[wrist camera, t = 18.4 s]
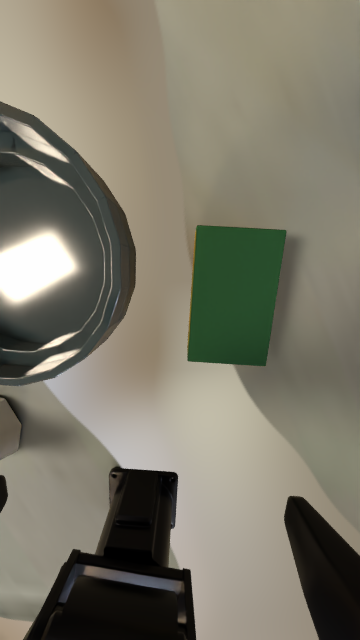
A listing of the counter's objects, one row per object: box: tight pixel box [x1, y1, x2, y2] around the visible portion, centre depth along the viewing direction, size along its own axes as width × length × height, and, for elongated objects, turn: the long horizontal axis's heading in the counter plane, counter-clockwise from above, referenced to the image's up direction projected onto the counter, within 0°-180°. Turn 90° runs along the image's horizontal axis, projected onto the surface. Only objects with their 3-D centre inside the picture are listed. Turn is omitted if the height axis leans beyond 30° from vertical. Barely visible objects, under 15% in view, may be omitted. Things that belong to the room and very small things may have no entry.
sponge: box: [187, 225, 286, 366], centre depth 16 cm, size 9×6×3 cm, turn 177°
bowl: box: [0, 102, 136, 386], centre depth 15 cm, size 16×16×4 cm
